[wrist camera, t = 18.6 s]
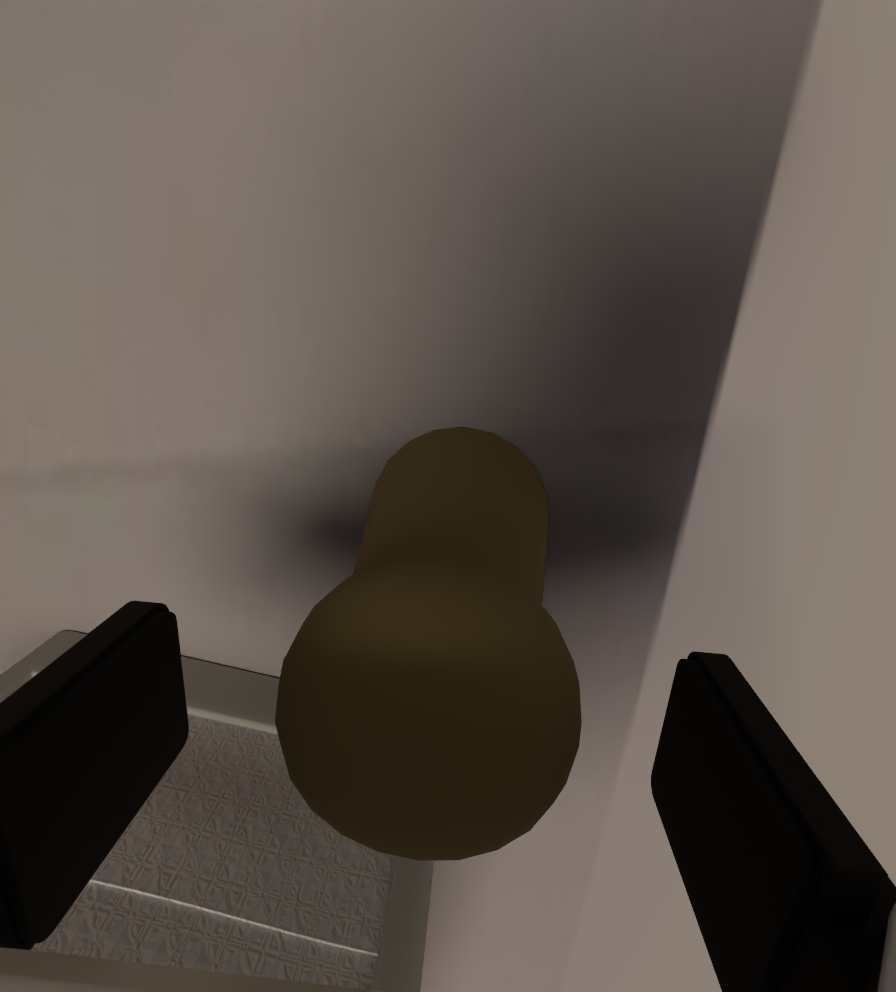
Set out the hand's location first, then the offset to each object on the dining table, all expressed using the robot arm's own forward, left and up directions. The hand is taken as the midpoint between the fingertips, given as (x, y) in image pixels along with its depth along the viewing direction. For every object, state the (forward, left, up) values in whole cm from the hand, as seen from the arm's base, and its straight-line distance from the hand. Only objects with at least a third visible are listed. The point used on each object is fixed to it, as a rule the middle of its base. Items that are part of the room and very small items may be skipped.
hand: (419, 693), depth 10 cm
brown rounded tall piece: (0, 0, -9) cm, 9 cm away
